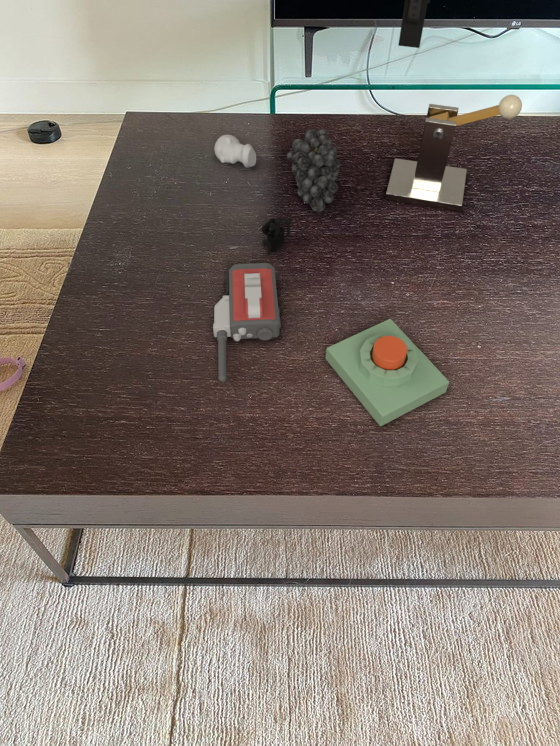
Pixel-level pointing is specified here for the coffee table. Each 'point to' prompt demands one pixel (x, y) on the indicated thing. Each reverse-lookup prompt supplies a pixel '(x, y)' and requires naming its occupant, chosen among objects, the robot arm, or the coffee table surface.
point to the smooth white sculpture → (234, 151)
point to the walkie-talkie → (246, 308)
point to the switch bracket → (430, 168)
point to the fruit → (315, 168)
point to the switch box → (385, 374)
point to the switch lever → (488, 111)
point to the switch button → (389, 352)
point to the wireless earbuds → (275, 234)
